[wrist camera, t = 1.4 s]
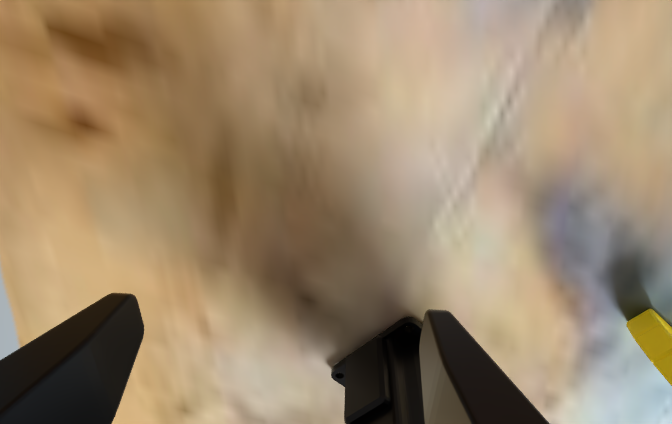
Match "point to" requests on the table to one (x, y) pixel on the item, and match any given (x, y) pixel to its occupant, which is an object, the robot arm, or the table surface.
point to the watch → (654, 340)
